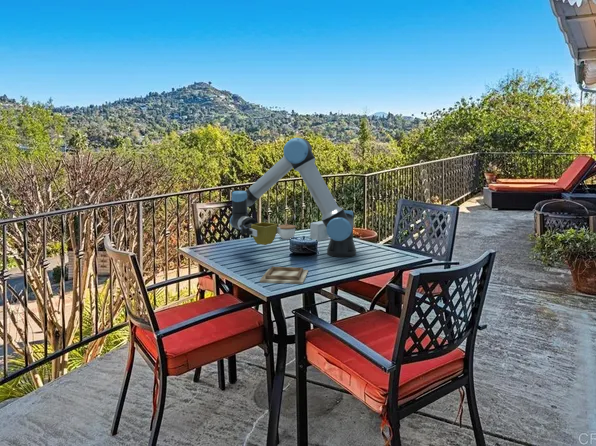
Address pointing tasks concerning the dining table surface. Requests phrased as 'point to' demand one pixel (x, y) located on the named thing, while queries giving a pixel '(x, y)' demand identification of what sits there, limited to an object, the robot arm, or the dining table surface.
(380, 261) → the dining table surface
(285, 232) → the lidded jar
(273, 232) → the flower pot
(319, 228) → the skincare box
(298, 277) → the birch tray
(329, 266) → the dining table surface
